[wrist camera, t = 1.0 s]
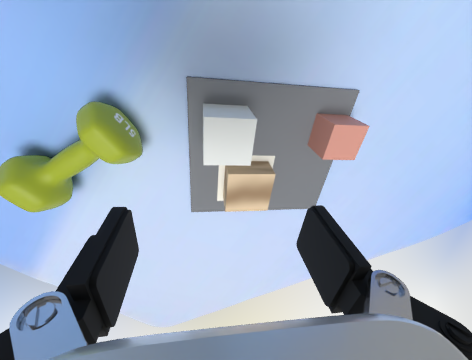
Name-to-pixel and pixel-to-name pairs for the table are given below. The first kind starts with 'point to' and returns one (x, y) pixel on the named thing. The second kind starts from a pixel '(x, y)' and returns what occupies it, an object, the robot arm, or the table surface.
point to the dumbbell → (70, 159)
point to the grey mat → (266, 138)
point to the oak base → (248, 186)
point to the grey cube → (228, 134)
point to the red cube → (336, 136)
